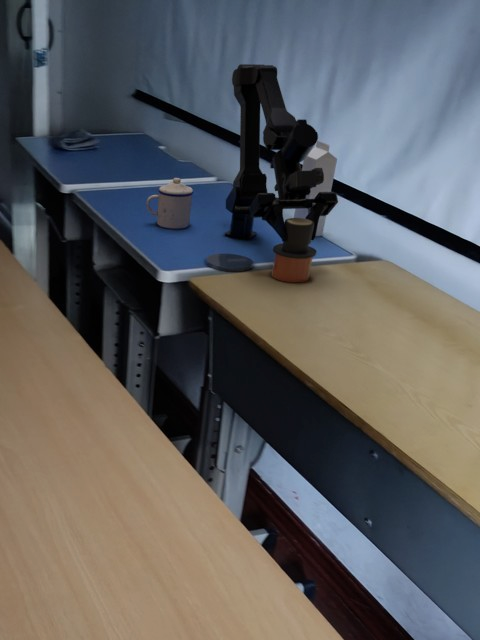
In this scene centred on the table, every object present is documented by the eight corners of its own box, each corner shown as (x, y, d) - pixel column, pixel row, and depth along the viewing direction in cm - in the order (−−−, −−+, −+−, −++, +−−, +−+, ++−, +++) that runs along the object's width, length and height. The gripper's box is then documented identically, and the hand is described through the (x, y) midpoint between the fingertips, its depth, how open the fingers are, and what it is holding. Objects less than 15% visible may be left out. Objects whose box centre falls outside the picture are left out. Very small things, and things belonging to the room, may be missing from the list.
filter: (279, 250, 192) (285, 213, 188) (320, 257, 189) (327, 219, 184) (265, 260, 186) (271, 222, 181) (307, 268, 182) (314, 229, 177)
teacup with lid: (189, 220, 226) (193, 175, 219) (190, 230, 218) (195, 183, 211) (145, 219, 226) (148, 173, 219) (145, 228, 219) (148, 181, 212)
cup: (278, 268, 194) (282, 244, 191) (312, 274, 191) (317, 250, 187) (266, 277, 188) (270, 253, 185) (301, 284, 185) (306, 260, 182)
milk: (302, 237, 216) (318, 145, 203) (291, 230, 220) (306, 140, 208) (322, 236, 217) (340, 144, 204) (311, 229, 222) (327, 140, 209)
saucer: (216, 254, 202) (216, 250, 201) (259, 262, 197) (259, 258, 197) (198, 265, 194) (199, 262, 193) (243, 274, 189) (243, 271, 189)
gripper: (262, 153, 176) (273, 221, 174) (343, 152, 179) (355, 219, 177) (244, 183, 187) (254, 248, 185) (321, 182, 190) (332, 245, 188)
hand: (299, 239), depth 183 cm, fingers closed on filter, 6 cm apart
